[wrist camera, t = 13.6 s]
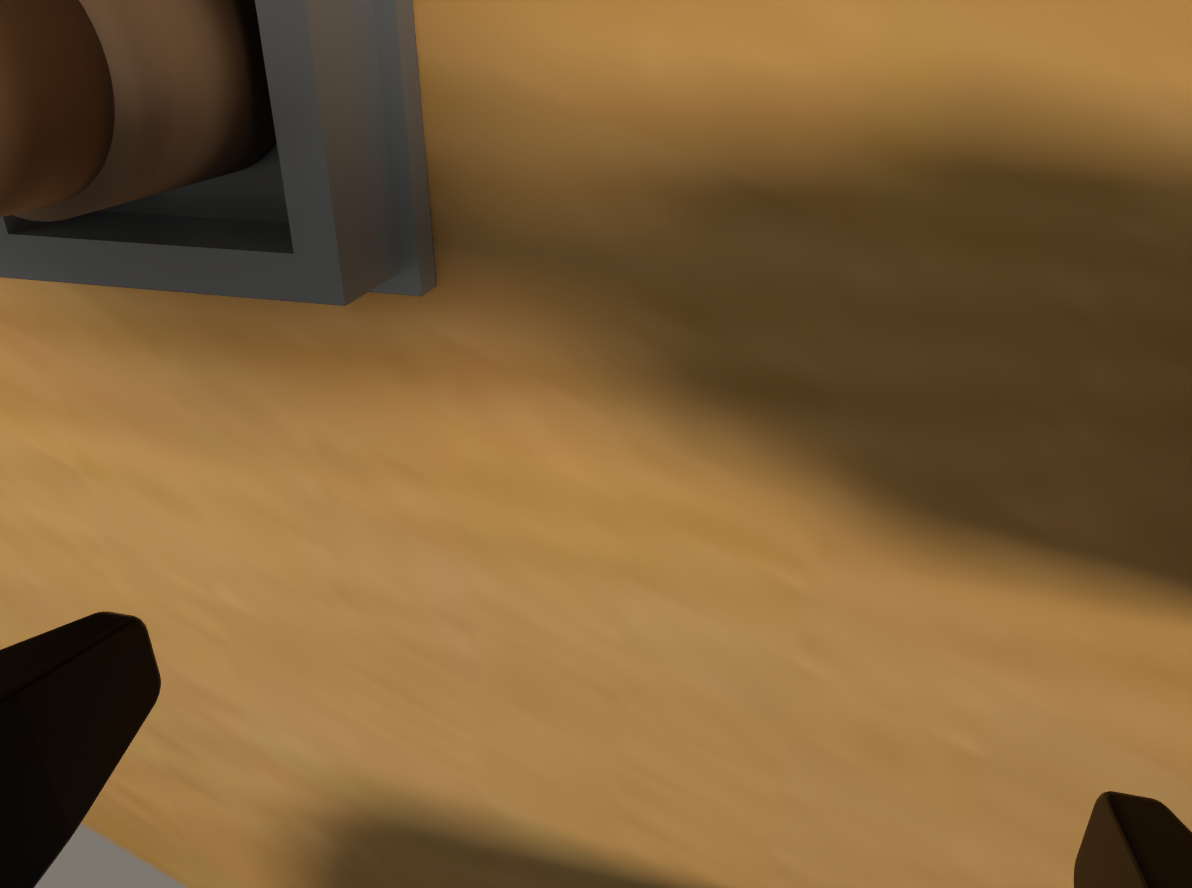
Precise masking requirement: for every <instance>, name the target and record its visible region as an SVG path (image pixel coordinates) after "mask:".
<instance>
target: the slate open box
mask: <svg viewBox="0 0 1192 888" xmlns="http://www.w3.org/2000/svg"><path fill="white" fill-rule="evenodd" d="M255 4H256V11H257V17H258V24H259V30H260V37H261V43H262V50H263V56H264V63H265V69H266V76H267V82H268V89H269V95H270V102H271V108H272V115H273V121H274V128H275V134H276V141H277V144H276V145H275V146H274V148H273V149H272V150H271V151H270V152H269V153H268V154H267V155H266V156H265V157H264V158H263V159H261V160H260V161H258V162H257V163H256V164H254V165H252V166H250V167H248V168H246V169H244V170H241V171H237V172H234V173H230V174H227V175H223V176H220V177H216V178H212V179H209V180H205V181H202V182H198V183H194V184H191V185H187V186H184V187H180V188H177V189H173V190H169V191H166V192H162V193H159V194H155V195H151V196H148V197H144V198H141V199H137V200H133V201H130V202H126V203H123V204H119V205H115V206H112V207H108V208H105V209H101V210H98V211H94V212H90V213H87V214H83V215H80V216H76V217H72V218H69V219H65V220H59V221H50V222H48V221H33V220H28V219H23V218H18V217H16V216H13V215H8V216H4V217H0V277H4V278H16V279H28V280H40V281H53V282H65V283H77V284H89V285H101V286H113V287H125V288H137V289H149V290H161V291H173V292H185V293H197V294H209V295H221V296H233V297H246V298H258V299H270V300H282V301H294V302H306V303H318V304H330V305H342V306H346V305H347V304H349V303H351V302H352V301H354V300H356V299H357V298H359V297H361V296H362V295H364V294H366V293H367V292H376V293H388V294H401V295H414V296H423V295H424V294H426V293H427V292H429V291H430V290H432V289H433V288H435V287H436V278H435V266H434V254H433V242H432V230H431V218H430V206H429V194H428V182H427V170H426V158H425V146H424V134H423V122H422V110H421V98H420V86H419V74H418V62H417V50H416V38H415V26H414V14H413V2H412V0H255Z"/></svg>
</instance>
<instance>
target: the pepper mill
mask: <svg viewBox="0 0 1192 888" xmlns="http://www.w3.org/2000/svg"><path fill="white" fill-rule="evenodd" d="M276 144H277V141H276V134H275V128H274V121H273V115H272V108H271V102H270V95H269V89H268V82H267V76H266V69H265V63H264V56H263V50H262V43H261V37H260V30H259V24H258V17H257V11H256V4H255V0H0V217H4V216H8V215H13V216H16V217H18V218H23V219H28V220H33V221H48V222H50V221H59V220H65V219H69V218H72V217H76V216H80V215H83V214H87V213H90V212H94V211H98V210H101V209H105V208H108V207H112V206H115V205H119V204H123V203H126V202H130V201H133V200H137V199H141V198H144V197H148V196H151V195H155V194H159V193H162V192H166V191H169V190H173V189H177V188H180V187H184V186H187V185H191V184H194V183H198V182H202V181H205V180H209V179H212V178H216V177H220V176H223V175H227V174H230V173H234V172H237V171H241V170H244V169H246V168H248V167H250V166H252V165H254V164H256V163H257V162H258V161H260V160H261V159H263V158H264V157H265V156H266V155H267V154H268V153H269V152H270V151H271V150H272V149H273V148H274V146H275V145H276Z"/></svg>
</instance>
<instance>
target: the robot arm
mask: <svg viewBox="0 0 1192 888" xmlns="http://www.w3.org/2000/svg"><path fill="white" fill-rule="evenodd" d="M160 687H161V678H160V673H159V670H158V666H157V662H156V659H155V655H154V652H153V648H152V645H151V641H150V637H149V634H148V630H147V628H146V625H145V624H144V623H143V622H142V620H141V619H139V618H137V617H135V616H131V615H125V614H119V613H114V612H98V613H95V614H92V615H89V616H87V617H84V618H82V619H79V620H76V621H74V622H71V623H69V624H66V625H63V626H61V627H58V628H56V629H53V630H51V631H48V632H45V633H43V634H40V635H38V636H35V637H32V638H30V639H27V640H25V641H22V642H19V643H17V644H14V645H12V646H9V647H7V648H4V649H1V650H0V888H34V887H35V886H36V884H37V883H38V881H39V880H40V879H41V878H42V876H43V875H44V874H45V872H46V871H47V870H48V868H49V867H50V866H51V864H52V863H53V862H54V860H55V859H56V858H57V856H58V855H59V853H60V852H61V851H62V849H63V847H64V846H65V845H66V844H67V842H68V841H69V840H70V838H71V837H72V835H73V834H74V832H75V831H76V829H77V828H78V826H79V825H80V823H81V822H82V820H83V818H84V817H85V815H86V814H87V812H88V811H89V809H90V807H91V806H92V804H93V803H94V801H95V799H96V798H97V796H98V795H99V793H100V791H101V790H102V788H103V787H104V785H105V783H106V782H107V780H108V779H109V777H110V775H111V774H112V772H113V771H114V769H115V767H116V766H117V764H118V763H119V761H120V759H121V758H122V756H123V754H124V753H125V751H126V750H127V748H128V746H129V745H130V743H131V742H132V740H133V738H134V737H135V735H136V734H137V732H138V730H139V729H140V727H141V726H142V724H143V722H144V721H145V719H146V718H147V716H148V714H149V713H150V711H151V710H152V708H153V706H154V705H155V703H156V701H157V698H158V696H159V692H160ZM1074 888H1192V832H1191V831H1190V830H1189V829H1188V828H1187V827H1186V826H1185V825H1184V824H1183V823H1182V822H1181V821H1180V820H1179V819H1178V818H1177V817H1176V816H1175V815H1174V813H1173V812H1172V811H1171V810H1170V809H1169V808H1167V807H1166V806H1165V805H1164V804H1162V803H1161V802H1159V801H1157V800H1155V799H1152V798H1147V797H1141V796H1135V795H1130V794H1124V793H1119V792H1113V791H1109V792H1104V793H1102V794H1101V795H1100V796H1099V797H1098V799H1097V800H1096V803H1095V805H1094V808H1093V811H1092V814H1091V817H1090V819H1089V822H1088V825H1087V828H1086V831H1085V834H1084V837H1083V840H1082V843H1081V846H1080V849H1079V852H1078V855H1077V858H1076V862H1075V868H1074Z"/></svg>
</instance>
